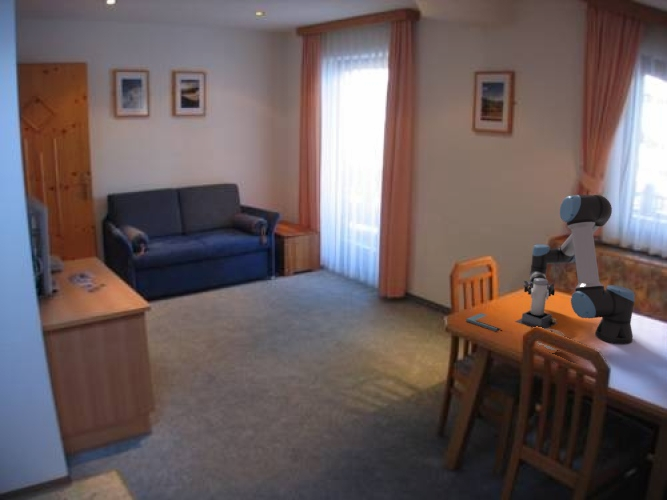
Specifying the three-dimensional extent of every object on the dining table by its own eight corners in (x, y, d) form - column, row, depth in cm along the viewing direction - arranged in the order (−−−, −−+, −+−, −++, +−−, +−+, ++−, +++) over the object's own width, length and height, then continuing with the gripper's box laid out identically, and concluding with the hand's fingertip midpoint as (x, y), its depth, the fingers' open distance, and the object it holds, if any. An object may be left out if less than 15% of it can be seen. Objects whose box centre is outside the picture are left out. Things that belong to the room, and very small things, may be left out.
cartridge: (546, 313, 293) (550, 280, 289) (539, 316, 288) (543, 282, 284) (534, 309, 297) (538, 277, 293) (527, 312, 293) (531, 279, 289)
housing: (557, 326, 294) (558, 315, 292) (542, 333, 284) (543, 322, 283) (529, 317, 303) (531, 306, 302) (514, 324, 294) (515, 313, 293)
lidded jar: (557, 358, 259) (560, 336, 257) (531, 350, 266) (534, 330, 263) (565, 350, 268) (568, 329, 265) (540, 343, 274) (543, 322, 271)
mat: (510, 325, 293) (510, 322, 293) (496, 331, 285) (496, 328, 285) (480, 315, 304) (480, 313, 304) (466, 321, 296) (466, 318, 296)
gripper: (558, 291, 305) (561, 306, 284) (517, 286, 310) (517, 301, 289) (560, 276, 304) (563, 290, 282) (518, 271, 308) (518, 285, 287)
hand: (539, 295), depth 285 cm, fingers closed on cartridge, 6 cm apart
